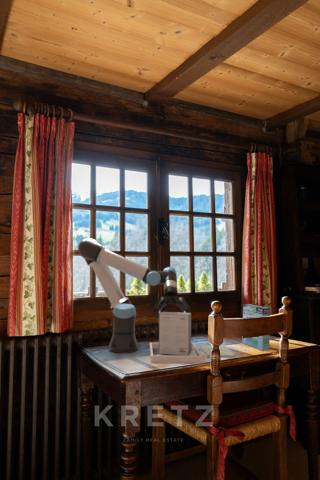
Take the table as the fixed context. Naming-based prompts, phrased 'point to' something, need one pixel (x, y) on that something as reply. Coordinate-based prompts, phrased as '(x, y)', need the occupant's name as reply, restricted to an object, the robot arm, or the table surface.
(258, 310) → the gum box
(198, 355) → the frame
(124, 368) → the table surface
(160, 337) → the hard drive box
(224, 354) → the mat
